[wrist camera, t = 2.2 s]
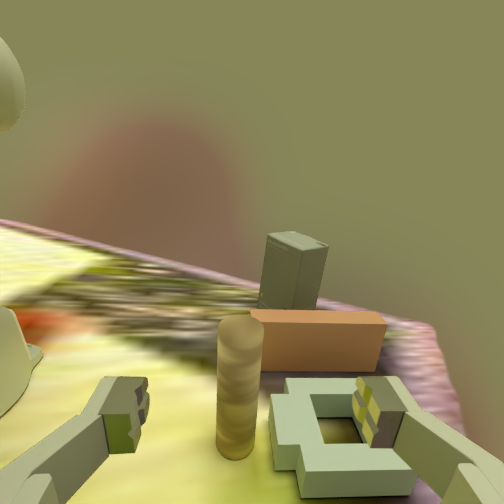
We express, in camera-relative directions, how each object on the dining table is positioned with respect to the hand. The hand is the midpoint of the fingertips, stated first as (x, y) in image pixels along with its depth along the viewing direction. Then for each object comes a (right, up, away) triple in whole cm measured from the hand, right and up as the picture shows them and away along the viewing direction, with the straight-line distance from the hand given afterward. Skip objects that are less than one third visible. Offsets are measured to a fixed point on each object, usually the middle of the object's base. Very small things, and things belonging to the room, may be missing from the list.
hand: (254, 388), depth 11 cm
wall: (+8, -11, +29) cm, 32 cm away
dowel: (-2, -14, +18) cm, 23 cm away
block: (+9, -15, +18) cm, 25 cm away
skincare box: (+6, -7, +39) cm, 40 cm away
